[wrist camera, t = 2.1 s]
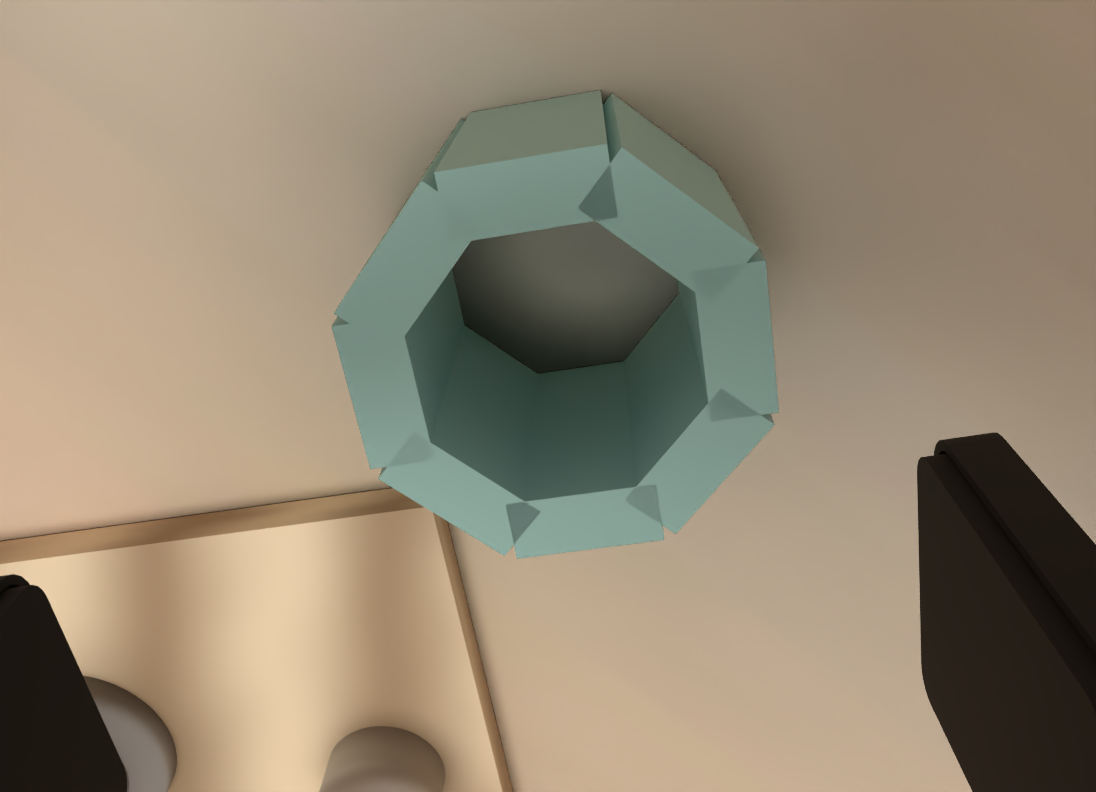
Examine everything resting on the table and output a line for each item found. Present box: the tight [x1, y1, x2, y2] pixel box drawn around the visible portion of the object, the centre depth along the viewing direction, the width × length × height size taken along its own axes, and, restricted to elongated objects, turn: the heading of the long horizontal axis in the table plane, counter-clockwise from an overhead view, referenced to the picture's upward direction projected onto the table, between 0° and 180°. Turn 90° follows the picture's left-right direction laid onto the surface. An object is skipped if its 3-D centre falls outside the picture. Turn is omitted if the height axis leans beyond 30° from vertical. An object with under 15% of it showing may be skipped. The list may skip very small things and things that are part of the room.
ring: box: [332, 90, 779, 559], centre depth 21 cm, size 7×7×6 cm
